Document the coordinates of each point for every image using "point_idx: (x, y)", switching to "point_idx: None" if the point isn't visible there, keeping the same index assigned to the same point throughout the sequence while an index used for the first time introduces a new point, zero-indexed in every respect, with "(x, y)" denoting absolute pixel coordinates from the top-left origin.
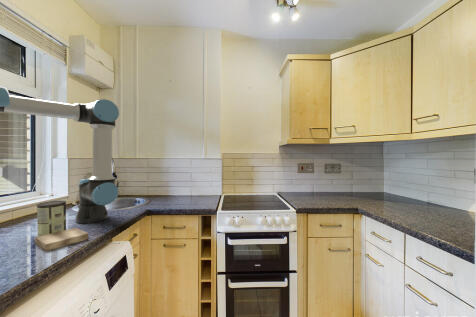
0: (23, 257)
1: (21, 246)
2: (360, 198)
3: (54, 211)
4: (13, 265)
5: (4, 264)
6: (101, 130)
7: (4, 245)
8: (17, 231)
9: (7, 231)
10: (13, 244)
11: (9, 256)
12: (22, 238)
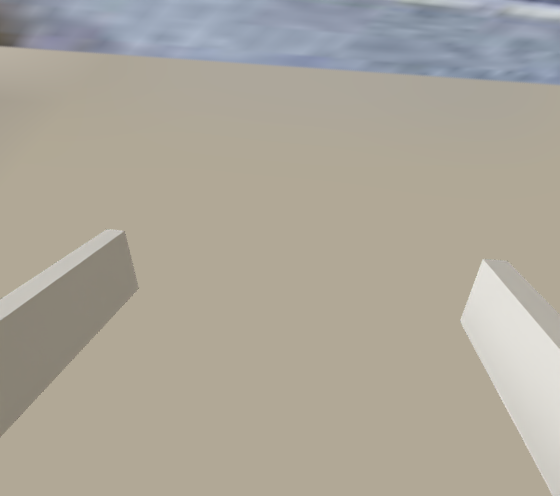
0: (503, 25)
1: (359, 17)
2: None
3: None
4: (552, 60)
5: (511, 81)
6: None
7: (291, 66)
8: (116, 8)
9: (90, 42)
10: (305, 39)
11: (442, 63)
12: (246, 2)
